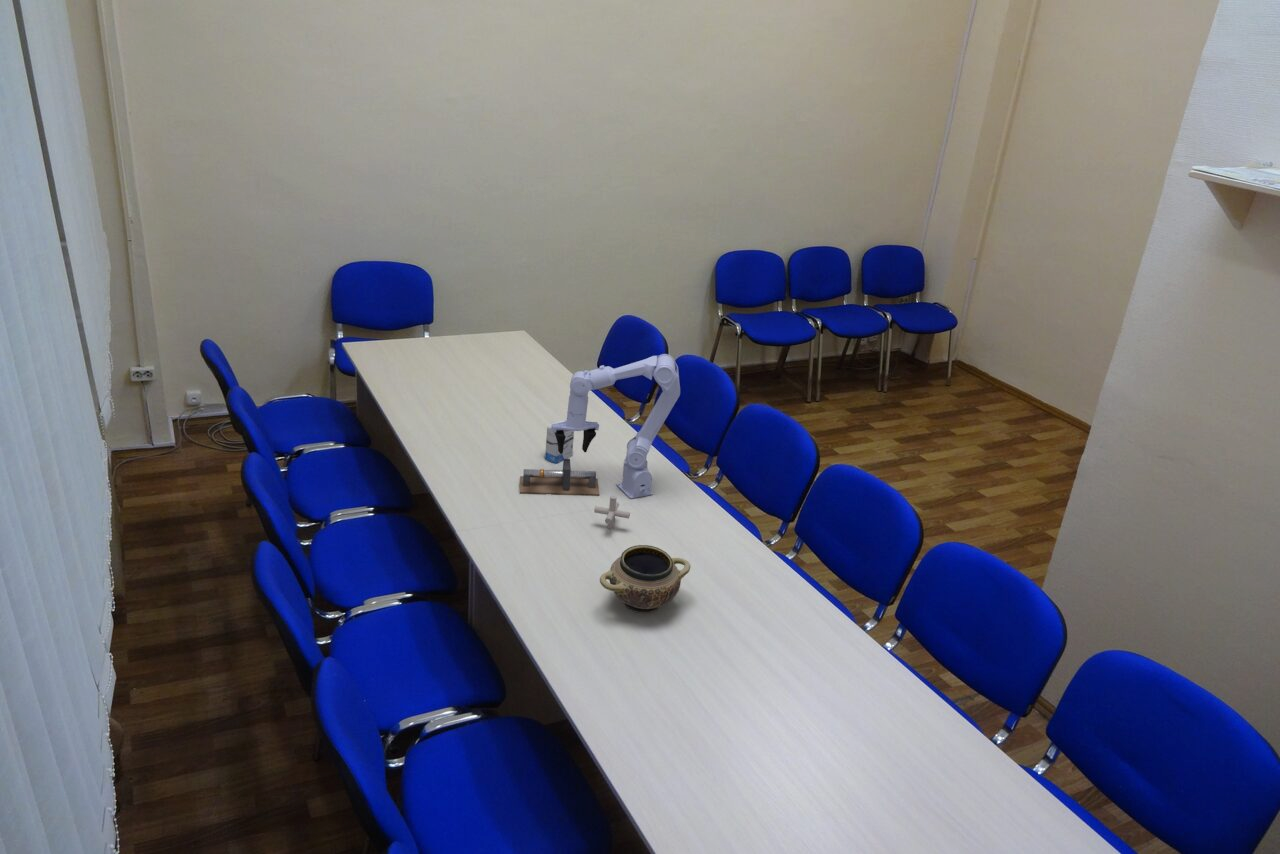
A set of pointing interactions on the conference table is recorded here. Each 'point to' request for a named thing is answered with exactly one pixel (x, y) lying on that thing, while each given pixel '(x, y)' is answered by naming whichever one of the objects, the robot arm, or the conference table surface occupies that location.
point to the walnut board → (558, 487)
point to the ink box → (552, 445)
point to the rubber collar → (566, 474)
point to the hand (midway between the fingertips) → (572, 451)
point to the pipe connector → (612, 512)
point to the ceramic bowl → (645, 578)
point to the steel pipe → (558, 475)
